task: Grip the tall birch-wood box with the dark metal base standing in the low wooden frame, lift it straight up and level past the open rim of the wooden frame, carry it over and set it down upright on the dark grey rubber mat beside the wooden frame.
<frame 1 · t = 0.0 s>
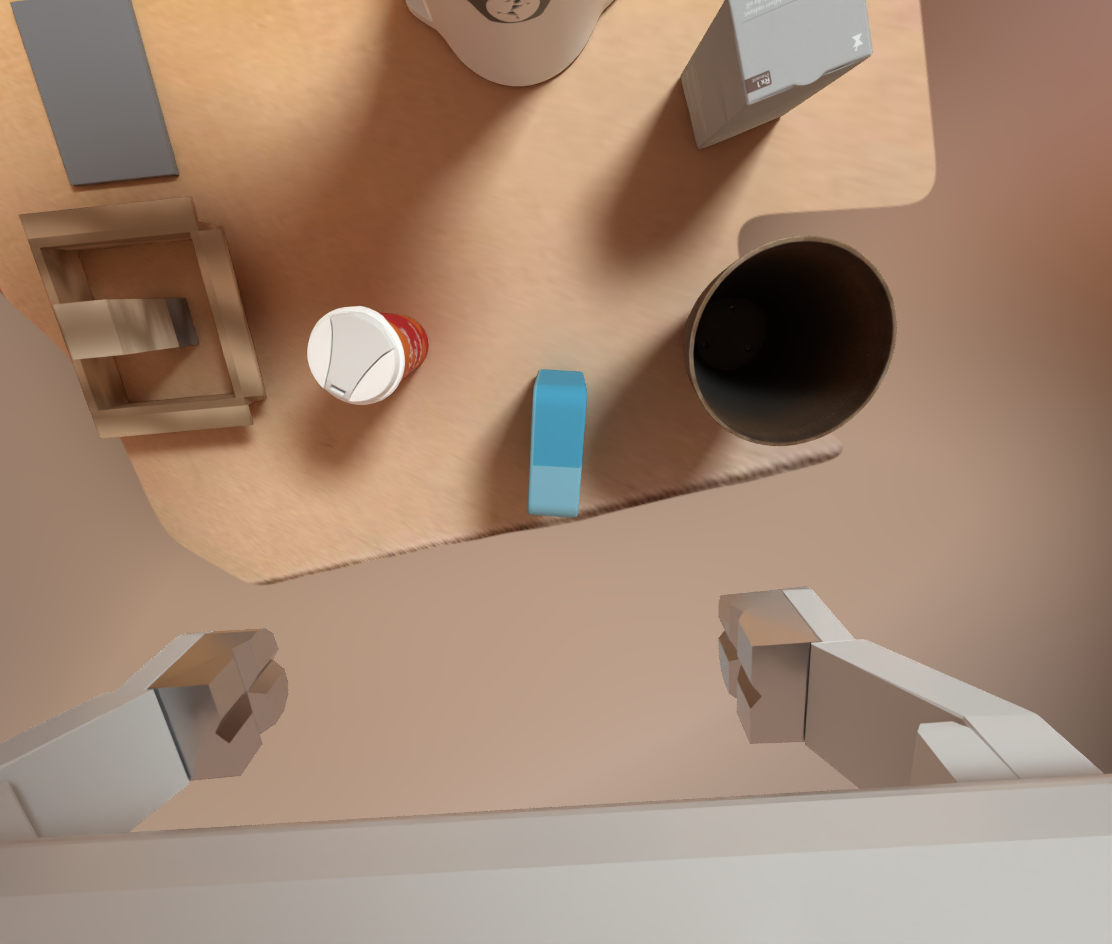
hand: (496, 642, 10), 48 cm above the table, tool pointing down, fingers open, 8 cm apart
paper cup: (402, 342, 55), on the table
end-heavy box: (171, 323, 55), resting in wooden frame
plant pot: (728, 332, 55), on the table
skincare box: (729, 102, 49), on the table
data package: (557, 424, 58), on the table
wooden frame: (170, 323, 55), on the table
rubber mat: (101, 93, 49), on the table
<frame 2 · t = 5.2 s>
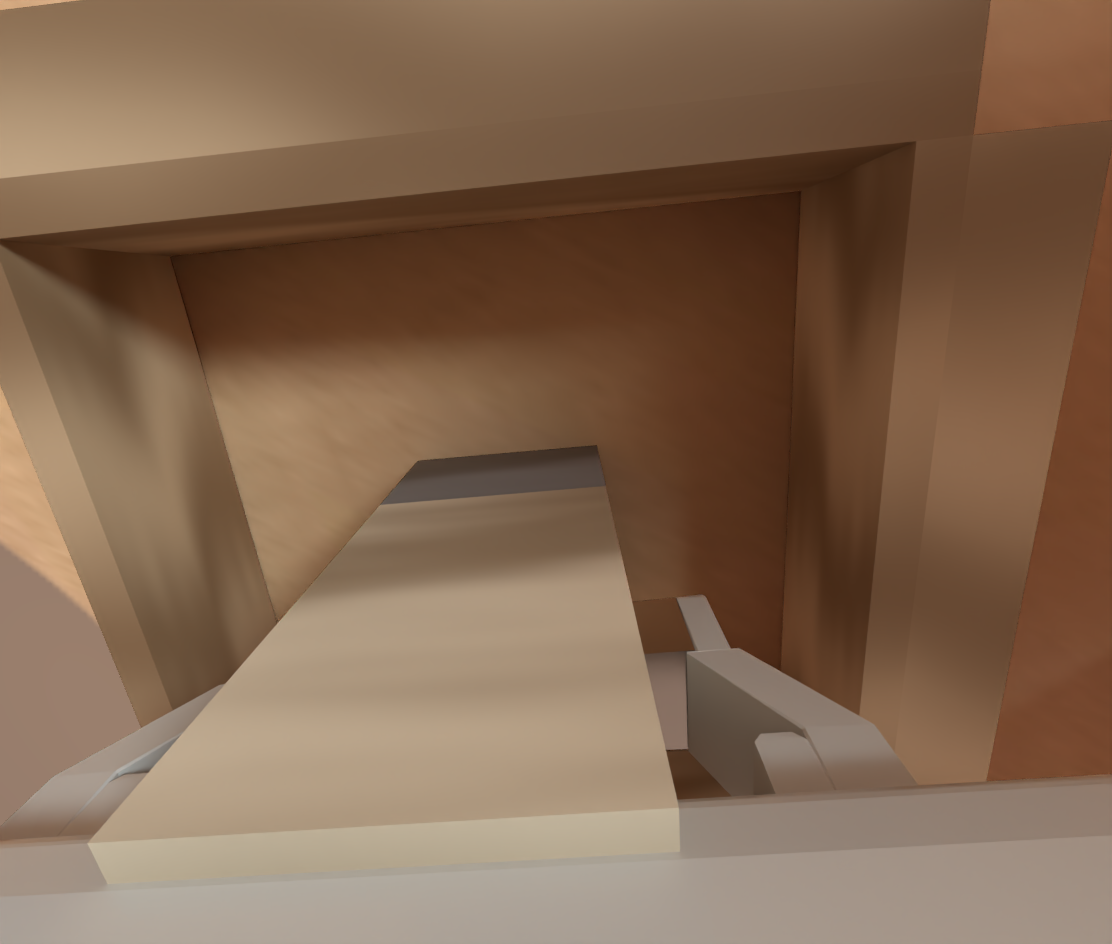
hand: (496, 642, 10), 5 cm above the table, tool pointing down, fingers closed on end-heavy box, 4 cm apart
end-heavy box: (517, 535, 14), resting in wooden frame, touching gripper
wooden frame: (517, 535, 14), on the table
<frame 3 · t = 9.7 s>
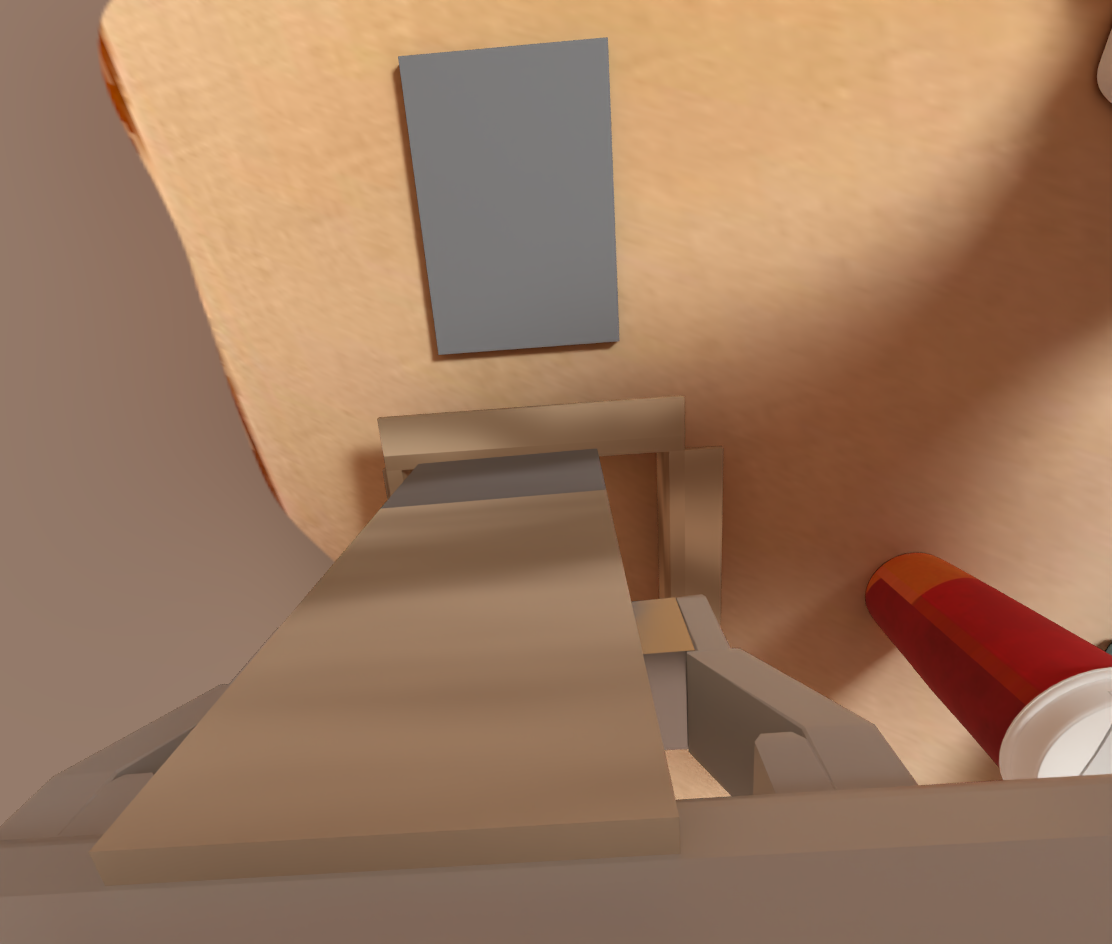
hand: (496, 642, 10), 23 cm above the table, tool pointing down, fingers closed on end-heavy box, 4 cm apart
paper cup: (907, 588, 35), on the table
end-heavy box: (517, 537, 14), point 18 cm above the table, touching gripper
wooden frame: (547, 557, 34), on the table
rubber mat: (517, 210, 28), on the table
when the fingers open (7 cm above the table, at t = 14.5 s): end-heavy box drops 1 cm, resting on rubber mat.
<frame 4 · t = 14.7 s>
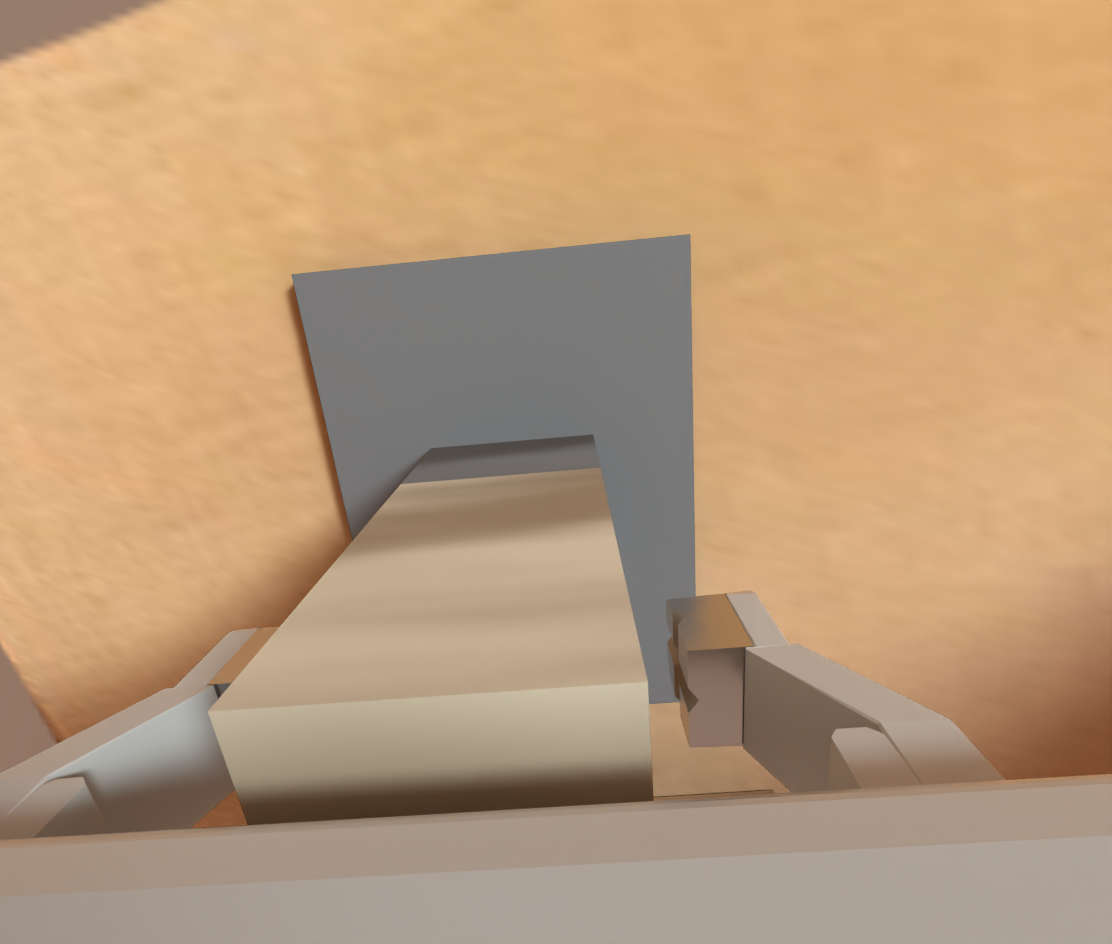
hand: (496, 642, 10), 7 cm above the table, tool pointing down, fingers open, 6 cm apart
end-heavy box: (520, 516, 16), point 1 cm above the table, touching rubber mat
rubber mat: (521, 506, 16), on the table
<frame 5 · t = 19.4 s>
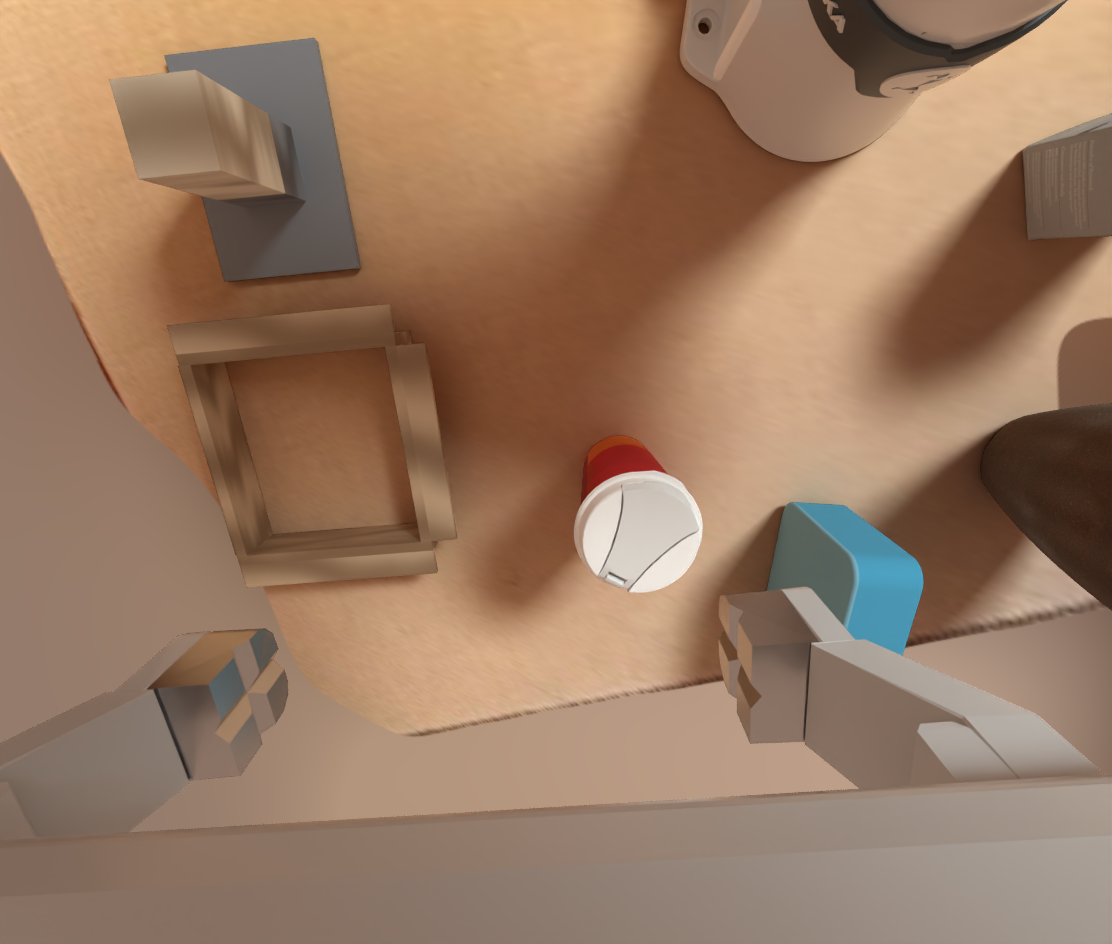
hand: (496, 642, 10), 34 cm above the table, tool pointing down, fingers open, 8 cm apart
paper cup: (617, 466, 45), on the table
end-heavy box: (266, 168, 37), point 1 cm above the table, touching rubber mat
plant pot: (1026, 456, 44), on the table
skincare box: (1077, 181, 38), on the table
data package: (796, 561, 47), on the table
wooden frame: (333, 443, 44), on the table
rubber mat: (270, 169, 38), on the table
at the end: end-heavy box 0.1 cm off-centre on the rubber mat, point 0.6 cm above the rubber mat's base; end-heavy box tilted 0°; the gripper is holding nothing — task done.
